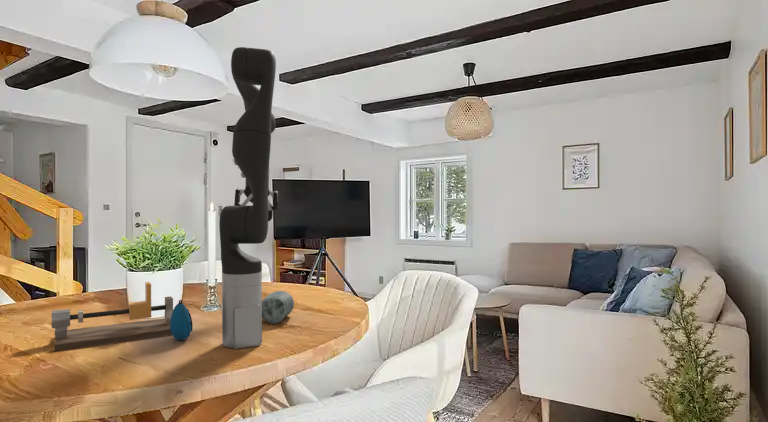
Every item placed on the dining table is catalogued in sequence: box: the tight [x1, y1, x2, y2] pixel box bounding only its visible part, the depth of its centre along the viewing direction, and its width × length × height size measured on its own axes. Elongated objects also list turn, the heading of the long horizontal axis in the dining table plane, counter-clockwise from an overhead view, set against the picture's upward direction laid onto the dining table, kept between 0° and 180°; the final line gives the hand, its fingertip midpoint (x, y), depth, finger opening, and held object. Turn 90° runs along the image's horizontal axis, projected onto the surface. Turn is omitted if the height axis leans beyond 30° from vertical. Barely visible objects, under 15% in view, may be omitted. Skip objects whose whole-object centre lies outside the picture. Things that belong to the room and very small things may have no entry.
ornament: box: [170, 299, 194, 342], centre depth 116 cm, size 8×5×10 cm, turn 41°
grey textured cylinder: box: [262, 290, 295, 325], centre depth 136 cm, size 14×10×10 cm
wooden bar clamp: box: [51, 295, 174, 352], centre depth 120 cm, size 14×27×8 cm, turn 123°
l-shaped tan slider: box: [127, 281, 152, 321], centre depth 123 cm, size 4×5×9 cm
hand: (256, 219), depth 159 cm, fingers open, 8 cm apart
